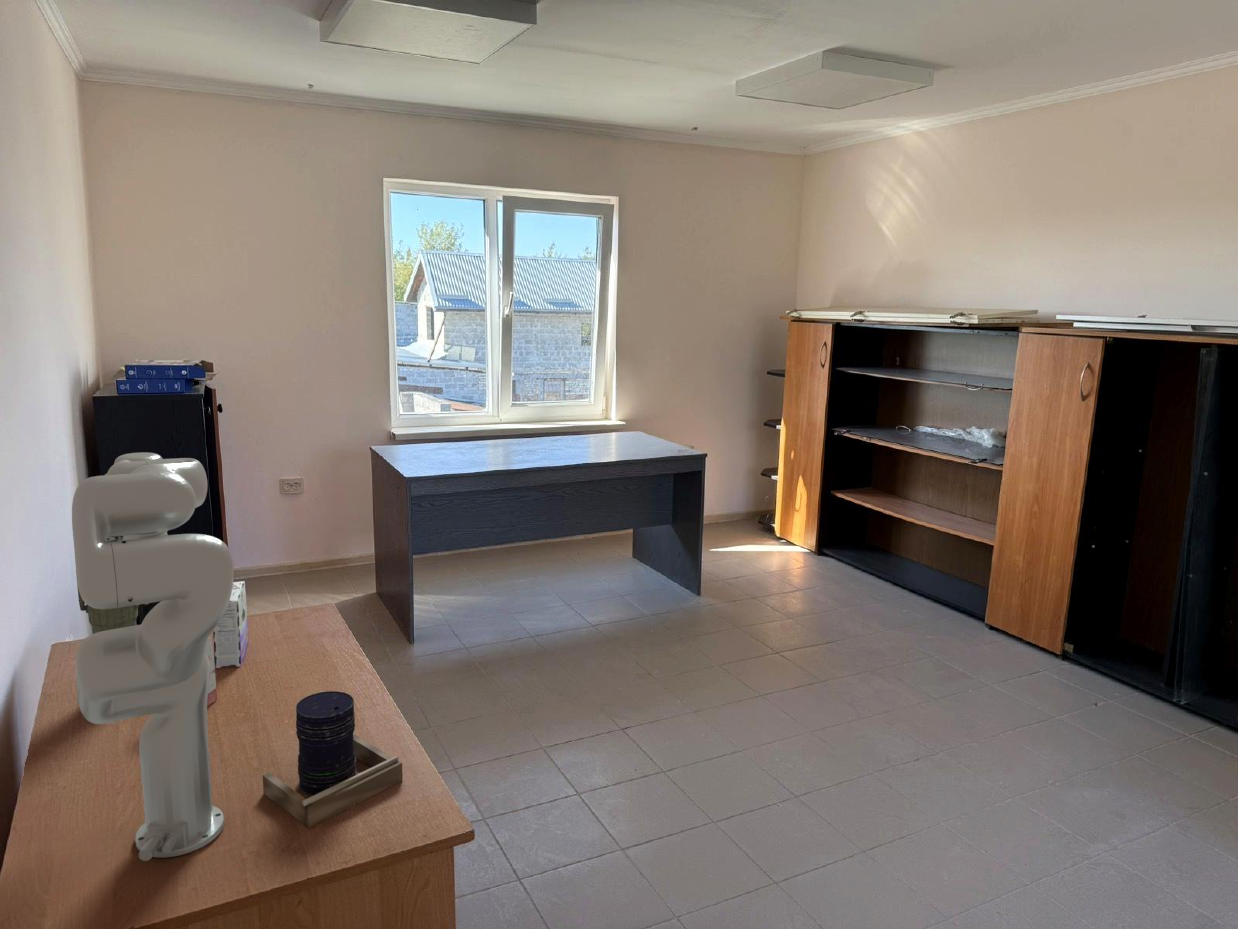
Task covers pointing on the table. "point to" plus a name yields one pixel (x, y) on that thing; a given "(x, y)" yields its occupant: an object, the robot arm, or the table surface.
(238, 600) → the candy box
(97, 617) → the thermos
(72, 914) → the table surface
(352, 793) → the dock
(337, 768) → the dark blue cylinder
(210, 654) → the ink cartridge box
